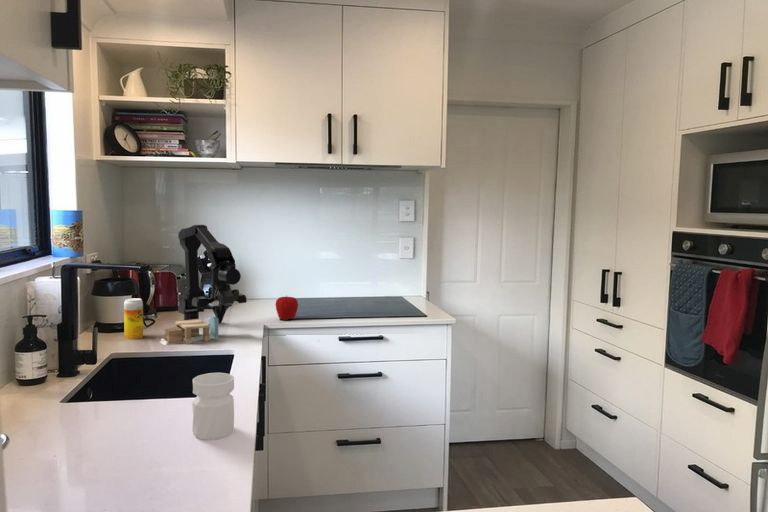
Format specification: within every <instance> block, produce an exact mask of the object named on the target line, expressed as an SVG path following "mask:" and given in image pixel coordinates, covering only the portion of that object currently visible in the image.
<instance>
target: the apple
mask: <svg viewBox="0 0 768 512" xmlns="http://www.w3.org/2000/svg"><path fill="white" fill-rule="evenodd" d="M298 307H299V302H298V299H296V297H293V296H288V295H285V296H281V297H278V298H277V299H276V300H275V311H276V313H277V315H278V318H279V319H280V320H282V319H283V320H282V321H289V320H288V319H291V320H292V319H294V318H295V317H296V315H297V313H298Z"/></svg>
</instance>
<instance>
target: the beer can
mask: <svg viewBox="0 0 768 512" xmlns="http://www.w3.org/2000/svg"><path fill="white" fill-rule="evenodd" d="M143 303H144V302H143V299H142V298H138V297H137V298H135V297H132V298H130V297H129V298H125V300H124V302H123V320H124V322H123V323H124V324H123V325H124V328H123V329H124V333H123V334H124V339H127V340H135V339H141V338H143V337H144V304H143Z"/></svg>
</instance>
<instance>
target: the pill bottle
mask: <svg viewBox="0 0 768 512" xmlns="http://www.w3.org/2000/svg"><path fill="white" fill-rule="evenodd" d="M234 390H235V376H234V375H231V374H230V373H226V372H209V373H204V374H200V375H196V376H195V377H193V378H192V394H193V395H195V396H196V397H195V398H193V400H192V401H191V403H192V434H193V436H194V437H195V439H199V440H200V439H201V440H203V441H204V440H205V441H208V440H209V441H211V440H213V441H214V440H220V439H223V438H226V437H228V436H230V435H231V434H233V433H234V430H235V403H234V401H235V399H234V395H232V394H231V393H232V392H233V391H234Z"/></svg>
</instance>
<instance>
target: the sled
mask: <svg viewBox="0 0 768 512" xmlns="http://www.w3.org/2000/svg"><path fill="white" fill-rule="evenodd" d="M219 338H220V337H219V323H218V318H216V316H215V315H211V316H209V340H212V339H219ZM197 341H198V342H199V341H203V335H198V336H191V342H197ZM158 342H159V343H160V344H162V345H163V346H166V345H167V346H168V345H174V344H175V345H176V344H183V343H184V344H185V337H182V342H178V343H171V344H168V342H167V341H166V340H165V338H161V340H159V341H158Z"/></svg>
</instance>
